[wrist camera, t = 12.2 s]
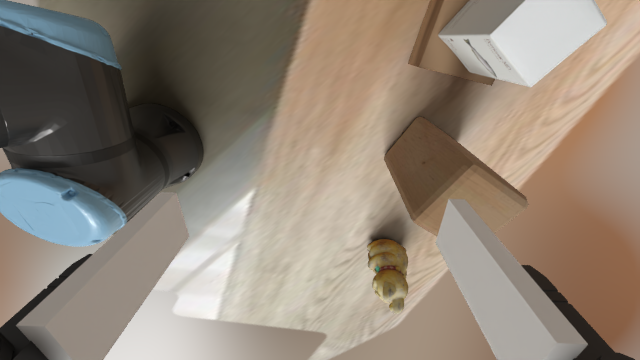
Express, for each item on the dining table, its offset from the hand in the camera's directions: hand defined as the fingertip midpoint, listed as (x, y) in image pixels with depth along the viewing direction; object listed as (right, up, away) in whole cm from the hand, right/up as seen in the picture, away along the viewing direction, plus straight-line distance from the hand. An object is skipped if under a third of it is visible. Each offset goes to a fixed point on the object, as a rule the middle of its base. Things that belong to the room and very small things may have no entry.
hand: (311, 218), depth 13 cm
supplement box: (+21, +21, +21) cm, 36 cm away
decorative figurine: (+16, -13, +47) cm, 51 cm away
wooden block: (+19, +8, +35) cm, 40 cm away
